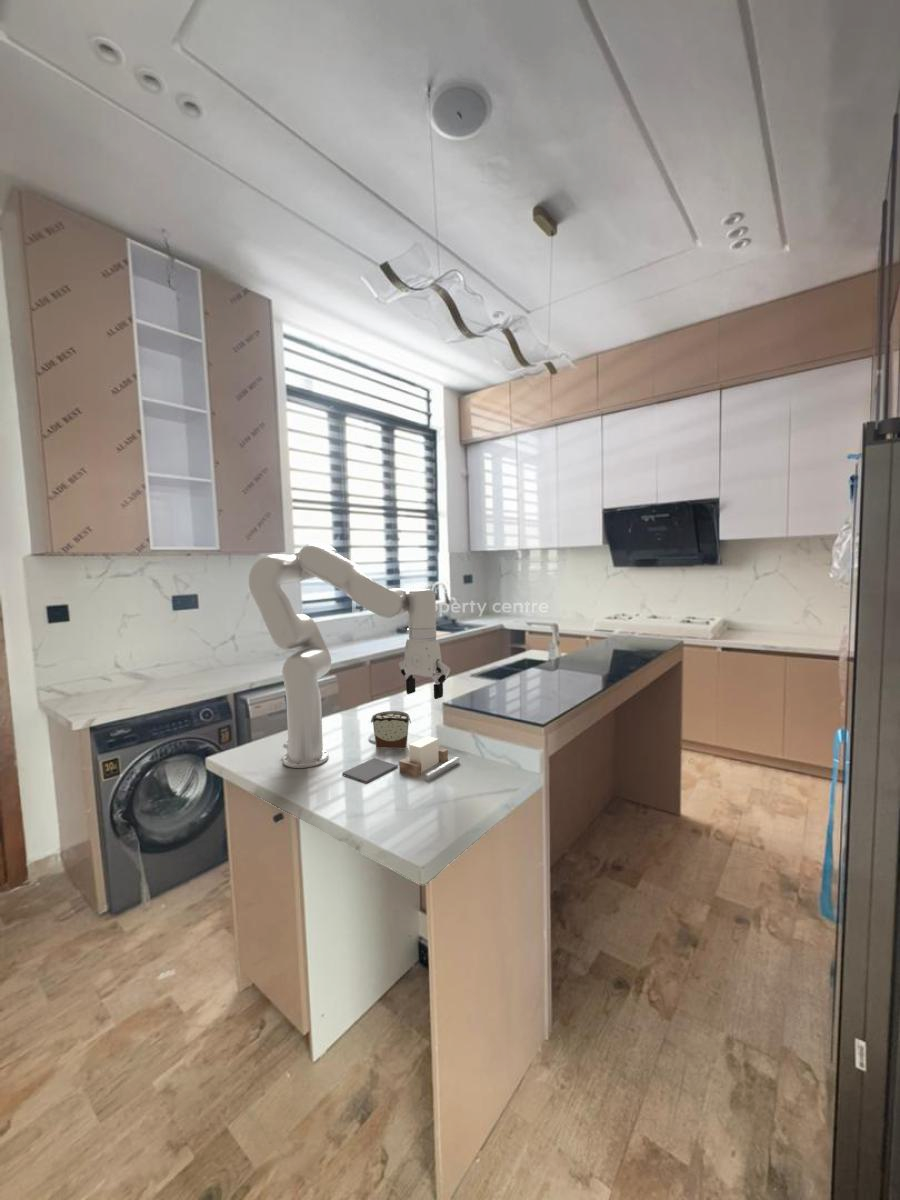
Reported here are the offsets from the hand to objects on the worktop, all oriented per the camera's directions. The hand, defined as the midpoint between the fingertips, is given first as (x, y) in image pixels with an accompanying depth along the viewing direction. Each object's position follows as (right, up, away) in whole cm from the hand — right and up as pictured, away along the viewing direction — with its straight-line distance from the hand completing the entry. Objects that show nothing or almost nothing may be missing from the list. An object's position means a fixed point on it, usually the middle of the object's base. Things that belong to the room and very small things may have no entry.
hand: (424, 695), depth 135 cm
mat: (-15, -20, -2) cm, 25 cm away
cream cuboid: (0, -20, +2) cm, 20 cm away
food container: (-11, -19, +18) cm, 28 cm away
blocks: (+1, -20, 0) cm, 20 cm away
